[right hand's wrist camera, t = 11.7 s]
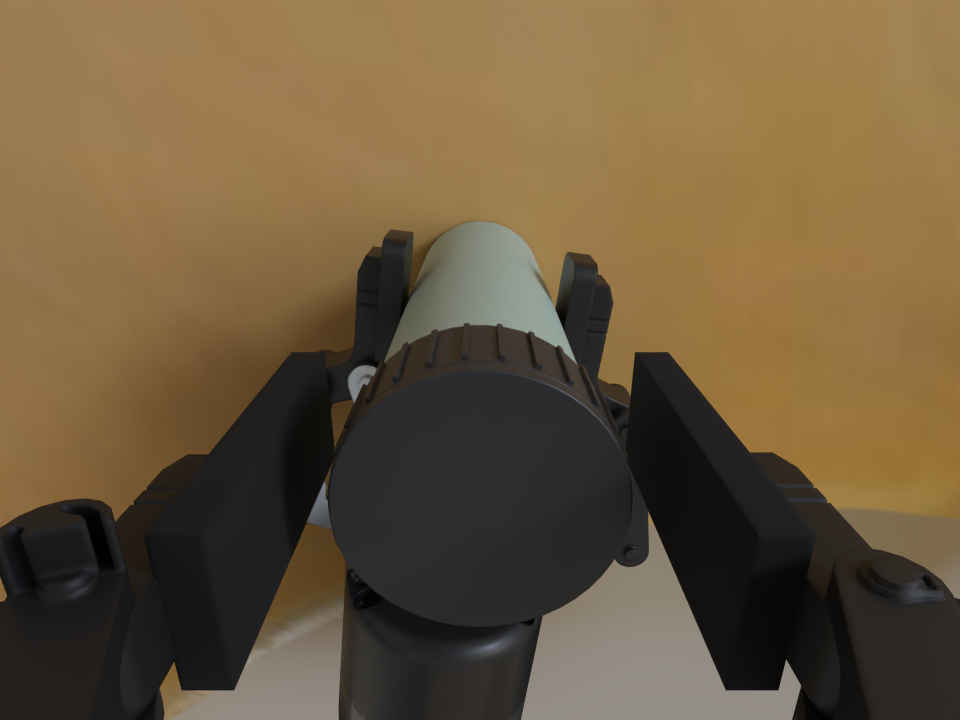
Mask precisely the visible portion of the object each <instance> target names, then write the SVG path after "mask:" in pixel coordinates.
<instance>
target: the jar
mask: <svg viewBox="0 0 960 720" xmlns="http://www.w3.org/2000/svg"><path fill="white" fill-rule="evenodd" d="M464 323H470V325H492V326H497V324H503V327H507V328H511V329H515V330H520V331H523V332H526V333H528V332H529V331H531V332H534V334H535V336H536V337H539V338H541V339H543V340H545V341H546V342H548V343H550V344H552V345H554V346H555V347H557V346H558V345H559V346H561V347H562V348H563V351H564V353H565V354H566V355H568V356H569V357H570V358H571V359H572V360H573V361H574V362H575V363H576V360H575V358H574V355H573V353H572V350H571V348H570V345H569V343H568V340H567V338H566V335H565V333H564V330H563V328H562V325H561V323H560V320H559V318H558V315H557V313H556V310H555V307H554V305H553V302H552V300H551V297H550V295H549V292H548V290H547V287H546V285H545V282H544V280H543V277H542V275H541V272H540V270H539V267H538V265H537V262H536V260H535V257H534V255H533V253H532V251H531V249H530V247H529V246H528V245H527V244H526V242H525V241H524V240H523V239H522V238H521V237H520V236H519V235H518V234H516V233H515V232H514V231H512V230H510V229H509V228H507V227H505V226H502V225H500V224H496V223H492V222H485V221H475V222H468V223H464V224H461V225H458V226H456V227H453V228H452V229H450V230H448V231H447V232H445V233H444V234H443V235H441V236H440V237H439V238H438V239H437V240H436V241H435V242H434V244H433V245H432V247H431V248H430V249H429V251H428V253H427V255H426V257H425V260H424V263H423V265H422V268H421V270H420V273H419V275H418V278H417V280H416V283H415V285H414V288H413V290H412V293H411V295H410V298H409V300H408V303H407V305H406V308H405V310H404V313H403V315H402V318H401V320H400V323H399V325H398V328H397V330H396V333H395V336H394V338H393V341H392V343H391V346H390V348H389V351H388V353H387V356H386V358H385V361H384V362H386V361H387V360H388V359H389V358H390V357H392V356H393V355H394V354H395V353H397V352H398V351H399V350H401V348H402V345H403V344H404V343H406V342H408V344H410V343H412V342H414V341H415V340H417V339H419V338H422V337H424V336H427V335H429V334H431V332H432V330H435V329H437V330H438V331H441V330H445V329H449V328H453V327H460V326H464ZM576 364H577V363H576Z"/></svg>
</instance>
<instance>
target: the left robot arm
mask: <svg viewBox="0 0 960 720" xmlns="http://www.w3.org/2000/svg"><path fill="white" fill-rule="evenodd" d="M412 250H413V232H407V231H399V230H390V231H389V232H388V233H387V235H386V236H385V237H384V240H383V244H382V247H373V248H372V249H371V250H370V251H369V253H368V254H367V255H366V256H365V258H364V260H363V262H362V264H361V267H360V269H359V271H358V280H357V301H356V303H357V305H356V321H355V342H354V347H352V348H350V349H348V350H344V351H340V352H333V351H331V350H320V351H318V352H325V359H326V369H327V379H328V389H329V399H330V409H331V410H332V407H333V404H334V403H337V402H342V401H346V400H351V399H353V402H354V403H355V400H356V398H357V396H358V394H359V391H360V389H361V387H362V385H363V384H366V385H368V383H369V381H370V380H371V379H372V377H373V376H374V374H375V372H376V370H377V367H378V365H379V363H380V362H381V361H385V358H386V356H387V353H388V351H389V348H390V346H391V343H392V341H393V338H394V336H395V333H396V330H397V328H398V325H399V323H400V320H401V318H402V315H403V313H404V310H405V308H406V305H407V303H408V299H409V287H410V275H411V263H412ZM612 306H613V300H612V295H611V289H610V286H609V285H608V283H607V282H606V281H605V279H604V278H603V277H602V276H601V275H598V266H597V263H596V262H595V261H594V260H593V259H592V257H591V256H590V255H587V254H579V253H571V252H567V253H566V256H565V259H564V264H563V270H562V275H561V281H560V286H559V292H558V298H557V303H556V309H555V310H556V313H557V315H558V318H559V320H560V323H561V325H562V328H563V330H564V333H565V335H566V338H567V340H568V343H569V345H570V348H571V350H572V353H573V355H574V358H575V360H576V363H577V365H578V366H581V365H583V366H584V367H585V369H586V371H587V373H588V376H589V378H590V380H591V383H592V384H593V386H594V388H595V390H597V389H599V388H600V390H601V392H602V394H603V397H604V399H605V401H606V403H607V406H608V408H609V410H610V412H611V414H612V417H613V419H614V421H615V423H616V426H617V428H618V430H619V433H618V435H619V437H620V439H621V441H622V444H623V446H624V448H626V438H627V428H628V418H629V408H630V399H631V397H630V395H629V393H628V391H627V390H626V388H625V387H623V386H621V385H619V384H608V383H606V382H604V381H602V380H600V379H599V378H598V372H599V367H600V362H601V358H602V353H603V348H604V344H605V339H606V333H607V330H608V325H609V320H610V316H611V311H612ZM627 464H628V463H627ZM628 468H629V472H630V477H631V481H632V494H633V503H632V514H631V519H630V523H629V527H628V531H627V534H626V537H625V539H624V541H623V544H622V546H621V549H620V550H619V552H618V554H617V555H616V557H615V560H616V561H617V562H618V563H619V564H620V565H622V566H626V567H634V566H637V565H639V564H641V563H643V562H644V561H645V560H646V558H647V557H648V553H649V539H648V509H647V507H646V504H645V502H644V500H643V497H642V495H641V493H640V490H639V488H638V486H637V483H636V481H635V479H634V477H633V474H632V472H631V470H630V467H629V465H628ZM330 473H331V468H330V470H329V472H328V474H327V477H326V479H325V481H324V483H323V486H322V488H321V490H320V493H319V495H318V497H317V500H316V502H315V504H314V507H313V509H312V511H311V514H310V516H309V518H308V520H307V523H310V524H313V525H316V526H319V527H323V528H326V529H329V530H333V529H332V526H331V522H330V518H329V510H328V484H329V478H330ZM333 537H334V540H335V542H336V544H337V546H338V547H339V545H338V543H337V541H336V539H335V536H334V533H333ZM339 549H340V547H339ZM340 551H341V550H340ZM341 553H342V552H341ZM342 554H343V553H342ZM343 557H344V555H343ZM344 560H345V565H346V574H345V595H344V614H343V633H342V652H341V670H340V691H339V720H521V716H522V711H523V707H524V702H525V697H526V692H527V687H528V683H529V678H530V673H531V668H532V664H533V659H534V655H535V650H536V645H537V640H538V635H539V631H540V626H541V621H542V616H540V617H537V618H534V619H531V620H528V621H523V622H519V623H514V624H509V625H501V626H492V627H470V626H459V625H452V624H447V623H441V622H437V621H433V620H430V619H427V618H423V617H420V616H418V615H415V614H413V613H411V612H408V611H406V610H404V609H402V608H400V607H398V606H396V605H395V604H393V603H391V602H389V601H388V600H386V599H385V598H383V597H382V596H381V595H379V594H378V593H377V592H375V591H374V590H373V589H372V588H371V587H369V586H368V585H367V584H366V583H365V582H364V581H363V580H362V579H361V578H360V577H359V576H358V574H357V573H356V572H355V571H354V570H353V568H352V567H351V566H350V564H349V563H348V561H347V560H346V558H345V557H344Z"/></svg>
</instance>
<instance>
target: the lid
mask: <svg viewBox="0 0 960 720" xmlns="http://www.w3.org/2000/svg"><path fill="white" fill-rule="evenodd" d="M618 433H619V430H618V428H617V426H616V423H615V421H614V419H613V417H612V414H611V412H610V410H609V408H608V406H607V403H606V401H605V399H604V397H603V394H602V392H601V390H600V388H599V389H597V390H595V388H594V386H593V384H592V383H591V380H590V378H589V376H588V373H587V371H586V369H585V367H584V366H583V365H581V366H578V365H577V364H576V363H575V362H574V361H573V360H572V359H571V358H570V357H569V356H568V355H566V354H565V353H564V351H563V348H562V347H561V346H559V345H558V346H557V347H555V346H554V345H552V344H550V343H548V342H546V341H545V340H543V339H541V338H539V337H536V336H535V334H534V332H531V331H529V332H528V333H526V332H523V331H520V330H515V329H511V328H507V327H503V324H497V326H492V325H470V323H464V326H460V327H453V328H449V329H445V330H441V331H438V330H437V329H435V330H432V332H431V334H429V335H427V336H424V337H422V338H419V339H417V340H415V341H414V342H412V343H410V344H408V342H406V343H404V344H403V345H402V348H401V350H399V351H398V352H397V353H395V354H394V355H393V356H392V357H390V358H389V359H388V360H387V361H386V362H384V361H381V362H380V363H379V365H378V367H377V370H376V372H375V374H374V376H373V377H372V379H371V380H370V381H369V383H368V385H366V384H363V385H362V387H361V389H360V391H359V394H358V396H357V398H356V400H355V403H354V405H353V407H352V409H351V412H350V414H349V416H348V418H347V421H346V423H345V425H344V429H343V431H342V433H341V435H340V438H339V440H338V442H337V445H336V447H335V449H334V451H333V455H332V456H333V457H335V460H334V463H333V466H332V468H331V473H330V478H329V484H328V510H329V518H330V522H331V526H332V529H333V533H334V536H335V539H336V541H337V543H338V545H339V547H340V550H341V552H342V553H343V555H344V557H345V558H346V560H347V561H348V563H349V564H350V566H351V567H352V568H353V570H354V571H355V572H356V573H357V574H358V576H359V577H360V578H361V579H362V580H363V581H364V582H365V583H366V584H367V585H368V586H369V587H371V588H372V589H373V590H374V591H375V592H377V593H378V594H379V595H381V596H382V597H383V598H385V599H386V600H388V601H389V602H391V603H393V604H395V605H396V606H398V607H400V608H402V609H404V610H406V611H408V612H411V613H413V614H415V615H418V616H420V617H423V618H427V619H430V620H433V621H437V622H441V623H447V624H452V625H459V626H470V627H492V626H501V625H509V624H514V623H519V622H523V621H528V620H531V619H534V618H537V617H540V616H543V615H545V614H547V613H550V612H552V611H554V610H556V609H559V608H561V607H562V606H564V605H566V604H567V603H569V602H571V601H572V600H574V599H576V598H577V597H578V596H580V595H581V594H582V593H584V592H585V591H586V590H588V589H589V588H590V587H591V586H592V585H593V584H594V583H595V582H596V581H597V580H598V579H599V578H600V577H601V576H602V575H603V574H604V572H605V571H606V570H607V569H608V567H609V566H610V565H611V564H612V562H613V560H614V559H615V557H616V555H617V554H618V552H619V550H620V549H621V546H622V544H623V541H624V539H625V537H626V534H627V531H628V527H629V523H630V519H631V514H632V503H633V494H632V481H631V477H630V472H629V468H628V464H627V462H629V458H628V455H627V453H626V451H625V448H624V446H623V444H622V441H621V439H620V437H619V435H618Z"/></svg>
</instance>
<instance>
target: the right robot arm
mask: <svg viewBox="0 0 960 720" xmlns="http://www.w3.org/2000/svg"><path fill="white" fill-rule="evenodd" d="M334 449H335V448H334V438H333V428H332V419H331V409H330V399H329V389H328V379H327V369H326V359H325V352H292V353H291V354H290V355H289V356H288V358H287V359H286V360H285V361H284V362H283V364H282V365H281V366H280V367H279V369H278V370H277V371H276V372H275V374H274V375H273V376H272V377H271V378H270V380H269V381H268V382H267V383H266V385H265V386H264V387H263V388H262V389H261V391H260V392H259V393H258V394H257V396H256V397H255V398H254V399H253V401H252V402H251V403H250V404H249V405H248V407H247V408H246V409H245V410H244V412H243V413H242V414H241V415H240V416H239V418H238V419H237V420H236V421H235V423H234V424H233V425H232V426H231V427H230V429H229V430H228V431H227V432H226V434H225V435H224V436H223V437H222V439H221V440H220V441H219V442H218V443H217V445H216V446H215V447H214V448H213V450H212V451H211V452H210V453H209V454H188V455H186V456H184V457H183V458H181V459H179V460H178V461H176V462H175V463H173V464H171V465H170V466H168V467H166V468H165V469H163V470H162V471H161V472H160V473H159V474H158V476H157V477H156V478H155V479H154V480H153V481H152V482H151V483H150V484H149V485H148V486H147V490H144V491H143V492H142V493H141V494H140V495H139V496H138V497H137V499H136V500H135V501H134V505H130V506H129V507H128V508H127V510H126V511H125V512H124V513H123V514H122V515H121V516H120V517H119V518H118V519H117V521H116V522H115V520H114V516H113V513H112V509H111V507H109V506H108V505H107V504H105V503H104V502H102V501H98V500H92V499H75V500H64V501H60V502H56V503H53V504H49V505H45V506H41V507H39V508H37V509H34V510H32V511H30V512H27V513H25V514H22V515H20V516H18V517H17V518H15V519H13V520H12V521H10V522H9V523H7V524H6V525H4V526H3V527H1V528H0V577H1V580H2V583H3V585H4V588H5V591H6V594H7V597H6V599H5V601H2V602H0V720H164V707H163V701H162V696H161V693H160V689H159V687H160V686H161V684H162V682H163V680H164V679H165V677H166V675H167V673H168V672H169V670H170V668H171V666H172V664H173V663H174V662H175V666H176V670H177V674H178V678H179V682H180V686H181V690H234V689H235V687H236V685H237V682H238V680H239V678H240V675H241V673H242V671H243V669H244V666H245V664H246V662H247V659H248V657H249V655H250V652H251V650H252V648H253V645H254V643H255V641H256V638H257V636H258V634H259V632H260V629H261V627H262V625H263V622H264V620H265V618H266V615H267V613H268V611H269V608H270V606H271V604H272V601H273V599H274V597H275V594H276V592H277V590H278V588H279V585H280V583H281V581H282V578H283V576H284V574H285V571H286V569H287V567H288V564H289V562H290V560H291V557H292V555H293V553H294V551H295V548H296V546H297V544H298V541H299V539H300V537H301V534H302V532H303V530H304V527H305V525H306V523H307V520H308V518H309V516H310V514H311V511H312V509H313V507H314V504H315V502H316V500H317V497H318V495H319V493H320V490H321V488H322V486H323V483H324V481H325V479H326V477H327V474H328V472H329V470H330V467H331V465H332V463H333V460H334V458H335V457H333V456H332V455H333V451H334ZM625 451H626V453H627V455H628V458H629V462H627V463H628V465H629V467H630V470H631V472H632V474H633V477H634V479H635V481H636V483H637V486H638V488H639V490H640V493H641V495H642V497H643V500H644V502H645V504H646V507H647V509H648V511H649V514H650V516H651V518H652V521H653V523H654V525H655V527H656V530H657V532H658V534H659V537H660V539H661V541H662V544H663V546H664V548H665V551H666V553H667V555H668V557H669V560H670V562H671V564H672V567H673V569H674V571H675V574H676V576H677V578H678V580H679V583H680V585H681V588H682V590H683V592H684V594H685V597H686V599H687V601H688V604H689V606H690V608H691V611H692V613H693V615H694V618H695V620H696V622H697V625H698V627H699V629H700V632H701V634H702V636H703V638H704V641H705V643H706V645H707V648H708V650H709V652H710V655H711V657H712V659H713V662H714V664H715V666H716V669H717V671H718V673H719V675H720V678H721V680H722V682H723V685H724V687H725V689H726V690H779V686H780V682H781V678H782V674H783V670H784V666H785V661H786V660H787V661H788V663H789V665H790V667H791V668H792V670H793V672H794V674H795V675H796V677H797V679H798V681H799V682H800V684H801V689H800V693H799V696H798V700H797V704H796V707H795V711H794V715H793V719H792V720H960V599H957V598H954V596H953V594H952V593H951V592H950V590H949V589H948V588H947V586H946V585H945V584H944V583H943V581H942V580H940V579H939V578H938V577H937V576H935V575H934V574H933V573H931V572H930V571H929V570H927V569H926V568H925V567H923V566H921V565H919V564H917V563H914V562H912V561H910V560H908V559H906V558H904V557H902V556H899V555H895V554H892V553H889V552H885V551H882V550H875V549H872V548H871V547H870V546H869V545H868V544H867V543H866V542H865V541H864V539H863V538H862V537H861V536H860V535H859V534H858V533H857V532H856V531H855V530H854V529H853V527H852V526H851V525H850V524H849V523H848V522H847V521H846V520H845V519H844V518H843V517H842V516H841V514H840V513H839V512H838V511H837V510H836V509H835V508H834V507H833V506H832V505H831V503H827V499H826V498H825V497H824V496H823V495H822V494H821V493H820V491H819V490H818V489H817V488H814V487H813V484H812V483H811V482H810V481H809V480H808V478H807V477H806V476H805V475H804V474H803V473H802V472H801V471H800V470H799V469H798V468H797V467H796V466H794V465H793V464H791V463H789V462H788V461H786V460H784V459H783V458H781V457H779V456H778V455H776V454H774V453H750V452H749V451H748V450H747V448H746V447H745V446H744V445H743V443H742V442H741V441H740V440H739V439H738V437H737V436H736V435H735V434H734V432H733V431H732V430H731V429H730V428H729V426H728V425H727V424H726V423H725V421H724V420H723V419H722V418H721V416H720V415H719V414H718V413H717V412H716V410H715V409H714V408H713V407H712V405H711V404H710V403H709V402H708V401H707V399H706V398H705V397H704V396H703V394H702V393H701V392H700V391H699V389H698V388H697V387H696V386H695V385H694V383H693V382H692V381H691V380H690V378H689V377H688V376H687V375H686V374H685V372H684V371H683V370H682V369H681V367H680V366H679V365H678V364H677V362H676V361H675V360H674V359H673V358H672V356H671V355H670V354H669V353H668V352H635V359H634V369H633V379H632V389H631V399H630V408H629V418H628V428H627V438H626V448H625Z"/></svg>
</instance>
